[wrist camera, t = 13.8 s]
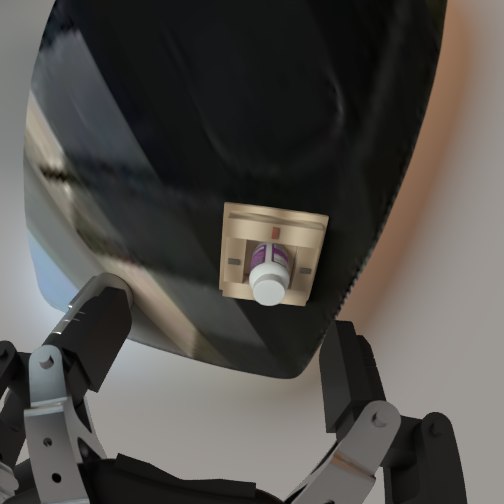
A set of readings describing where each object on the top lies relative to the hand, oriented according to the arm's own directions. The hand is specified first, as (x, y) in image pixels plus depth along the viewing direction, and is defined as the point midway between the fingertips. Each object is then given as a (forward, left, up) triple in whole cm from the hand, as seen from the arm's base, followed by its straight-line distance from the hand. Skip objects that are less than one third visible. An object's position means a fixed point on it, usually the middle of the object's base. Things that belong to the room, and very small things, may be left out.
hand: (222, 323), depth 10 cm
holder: (+3, -13, -30) cm, 33 cm away
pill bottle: (+3, -13, -30) cm, 33 cm away
